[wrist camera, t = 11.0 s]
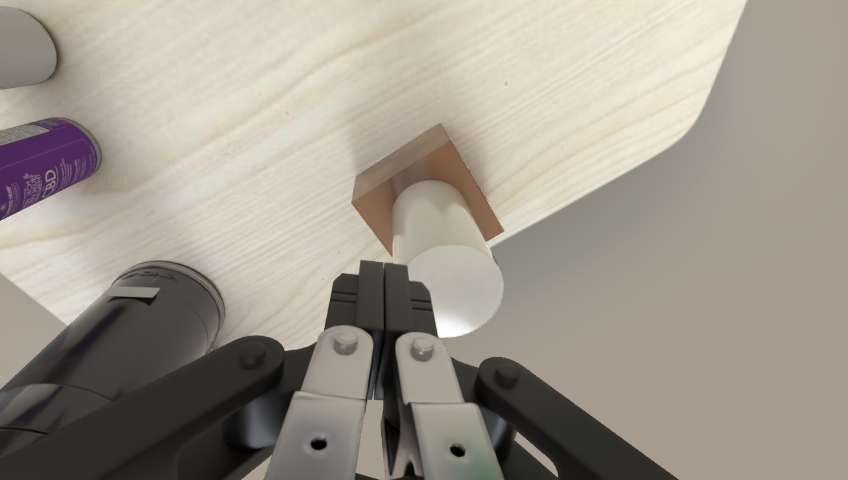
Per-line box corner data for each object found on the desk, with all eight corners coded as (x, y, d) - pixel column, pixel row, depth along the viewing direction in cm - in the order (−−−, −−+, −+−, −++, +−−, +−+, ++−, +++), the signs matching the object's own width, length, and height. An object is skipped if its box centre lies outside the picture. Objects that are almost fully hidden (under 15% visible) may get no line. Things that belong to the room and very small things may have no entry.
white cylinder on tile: (464, 253, 32) (495, 338, 23) (389, 251, 32) (392, 337, 23) (473, 181, 30) (512, 245, 21) (392, 177, 29) (397, 242, 20)
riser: (408, 249, 39) (412, 284, 33) (355, 176, 35) (351, 202, 30) (486, 202, 37) (504, 231, 32) (439, 122, 34) (450, 139, 29)
